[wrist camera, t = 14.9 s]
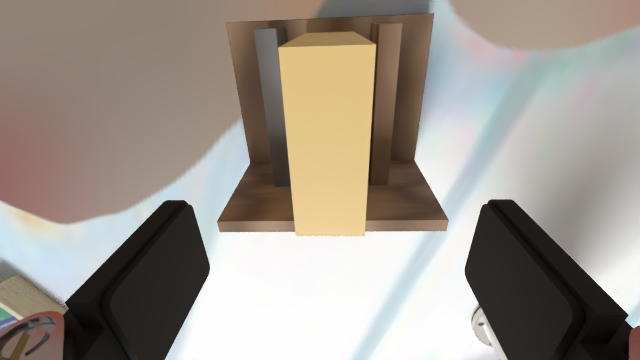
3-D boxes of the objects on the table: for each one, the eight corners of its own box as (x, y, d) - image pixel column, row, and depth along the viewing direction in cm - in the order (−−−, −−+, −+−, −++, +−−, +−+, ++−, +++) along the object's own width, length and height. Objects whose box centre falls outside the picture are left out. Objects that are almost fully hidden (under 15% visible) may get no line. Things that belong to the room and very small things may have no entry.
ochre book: (353, 31, 24) (376, 44, 12) (351, 143, 29) (364, 236, 16) (305, 32, 24) (278, 47, 12) (311, 144, 29) (295, 235, 17)
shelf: (428, 13, 24) (496, 10, 14) (409, 162, 31) (446, 231, 21) (231, 22, 25) (164, 24, 15) (255, 165, 32) (219, 231, 22)
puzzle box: (-105, 327, 52) (13, 391, 62) (-142, 352, 48) (-10, 417, 58) (24, 269, 43) (137, 355, 53) (-8, 295, 39) (120, 383, 49)
